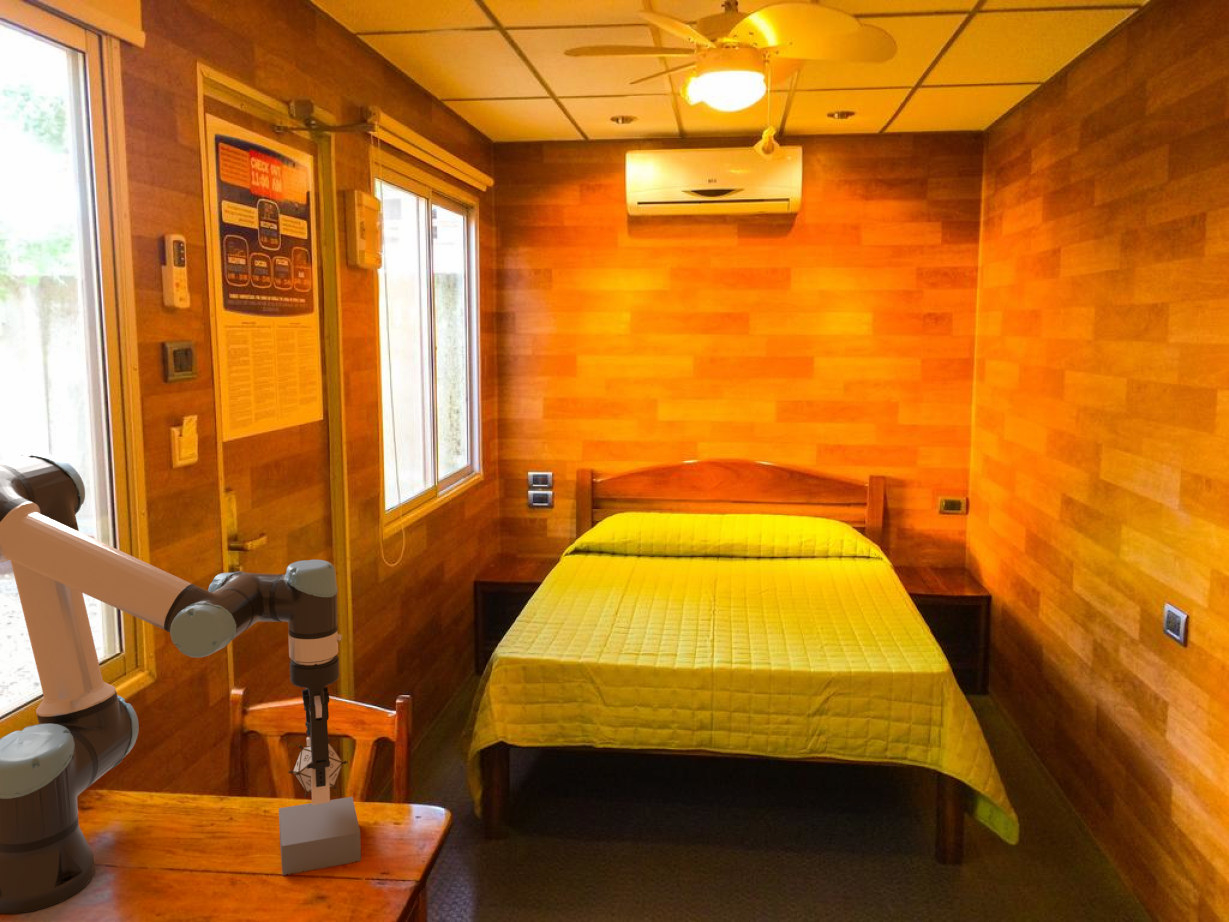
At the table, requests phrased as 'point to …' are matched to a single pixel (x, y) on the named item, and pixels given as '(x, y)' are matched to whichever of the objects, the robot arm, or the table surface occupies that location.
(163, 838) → the table surface
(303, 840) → the gray block
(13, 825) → the robot arm
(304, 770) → the game die
